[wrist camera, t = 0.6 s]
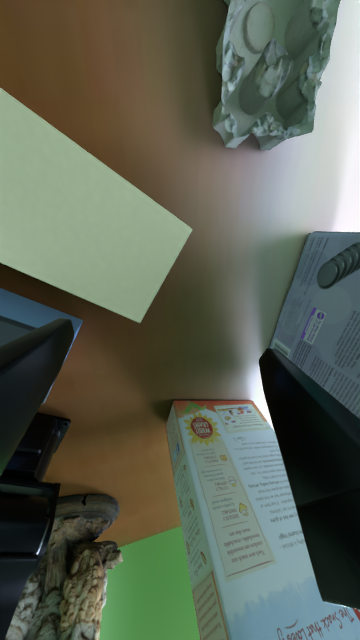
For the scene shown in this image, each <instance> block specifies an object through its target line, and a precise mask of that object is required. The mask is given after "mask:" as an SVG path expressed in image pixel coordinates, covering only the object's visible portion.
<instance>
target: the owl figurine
mask: <svg viewBox="0 0 360 640" xmlns="http://www.w3.org/2000/svg"><path fill="white" fill-rule="evenodd" d="M83 499H84V497H83V496H82V495H73V496H68V497H62V498H58V501H57V507H56V513H55V519H54V524H53V529H52V533H51V536H50V539H49V542H48V545H47V548H46V550H45V553H44V555H43V557H42V560H41V562H40V564H39V566H38V568H37V569H36V571H35V573H34V574H33V575H32V577H31V578H29V579H28V580H27V582H26V585H25V587H24V589H23V592H22V594H21V597H20V599H19V602H18V605H17V607H16V610H15V613H14V616H13V618H12V621H11V624H10V627H9V629H8V632H7V635H6V638H5V640H99V634H100V628H101V627H100V622H101V618H102V608H103V607H104V605H105V603H106V599H107V597H106V586H107V569H114V566H115V565H117V564H118V563H120V562H122V561H123V558H122V553H121V551H120V550H117V548H118V546H117V544H116V543H115V542H114V541H103V542H93V541H94V540H95V539H97V538H98V537H99V535H100V534H102V532H104V531H105V530H106V529H107V528H109V527H110V526H111V525H112V523H113V522H114V521H115V520H116V518H117V517H118V515H119V512H120V509H119V505H118V502H117V501H116V500H115V499H114V498H112V497H110V496H108V495H101V494H96V495H94V496H93V495H92V494H89V495H87V497H86V499H85V502H86V506H84V505H83V504H82V502H81V501H82V500H83Z"/></svg>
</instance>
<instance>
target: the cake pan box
mask: <svg viewBox="0 0 360 640" xmlns="http://www.w3.org/2000/svg"><path fill="white" fill-rule="evenodd" d="M277 323H278V325H277V328H276V330H275V333H274V336H273V339H272V342H271V345H270V348H274V349H277V350H279V351H280V352H281V353H282V354H283V355H284V356H286V357H287V358H288V359H289V360H290V361H292V362H293V363H294V364H295V365H296V366H298V367H299V368H300V369H301V370H302V371H304V372H305V373H306V374H307V375H308V376H309V377H311V378H312V379H313V380H314V381H315V382H317V383H318V384H319V385H320V386H321V387H323V388H324V389H325V390H326V391H327V392H329V393H330V394H331V395H332V396H333V397H334V398H336V399H337V400H338V401H339V402H340V403H342V404H343V405H344V406H345V407H346V408H348V409H349V410H350V411H351V412H352V413H353V414H355V415H356V416H357V417H358V418H360V232H321V231H315V232H313V233H309V234H308V236H307V238H306V241H305V247H304V250H303V252H302V255H301V258H300V261H299V264H298V267H297V270H296V273H295V276H294V279H293V281H292V285H291V287H290V290H289V291H288V292H287V294H286V297H285V300H284V303H283V306H282V308H281V312H280V315H279V318H278V321H277Z"/></svg>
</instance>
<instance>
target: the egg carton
mask: <svg viewBox="0 0 360 640" xmlns="http://www.w3.org/2000/svg"><path fill="white" fill-rule="evenodd" d="M224 1H225V3H226V4H227V5H228V6H229V10H228V14H227V21H226V23H225V25H224V29H223V31H222V34H221V36H220V39H219V41H218V43H217V47H216V54H217V63H216V69H217V71H218V72H219V73H221V74H222V96H221V97H222V100H221V101H220V103H219V105H218V106H217V107H216V108H215V110H214V112H213V114H214V115H213V120H212V124H213V128H214V129H215V130H216V131H218V132H219V133H220V135H221V136H222V138H223V142H224V144H225V146H226V147H228V148H236V147H237V146H238V145H239V144H240V143H241V142H242V141H244V140H245V139H246V138H247V137H248V136H249V135H250V133H253V134H254V135H255V136H256V137H257V139H258V141H259V142H260V149H262V150H271V149H272V148H273V147H275V146H277V145H278V144H279V143H281V142H283V141H284V140H286V139H289V138H292V137H295V136H300V135H304V134H307V133H310V132H312V131H313V127H314V115H315V109H316V105H315V99H316V94H317V91H318V89H319V88H320V86H321V84H322V83H321V81H320V78H321V75H322V73H323V71H324V69H325V68H326V66H327V64H328V62H329V57H330V45H331V40H332V36H333V32H334V29H335V25H336V20H337V11H338V7H339V4H340V0H224Z"/></svg>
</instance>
